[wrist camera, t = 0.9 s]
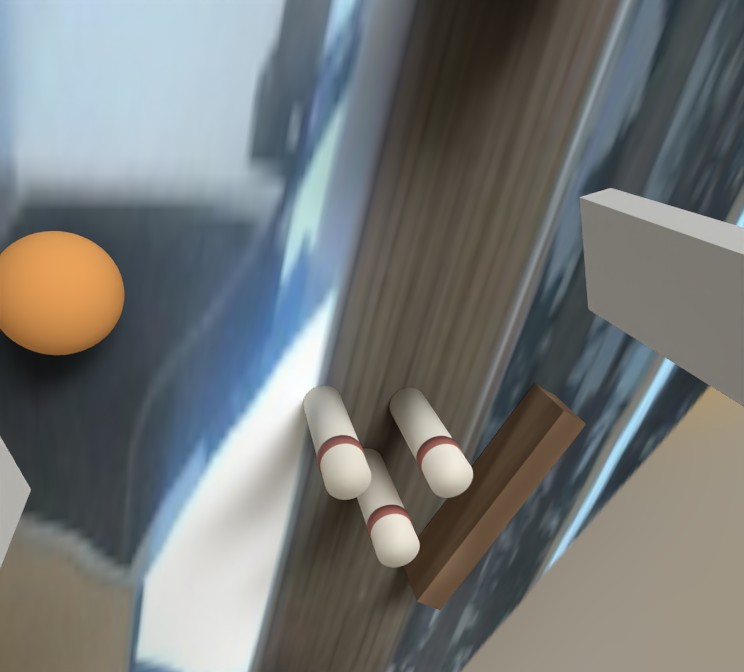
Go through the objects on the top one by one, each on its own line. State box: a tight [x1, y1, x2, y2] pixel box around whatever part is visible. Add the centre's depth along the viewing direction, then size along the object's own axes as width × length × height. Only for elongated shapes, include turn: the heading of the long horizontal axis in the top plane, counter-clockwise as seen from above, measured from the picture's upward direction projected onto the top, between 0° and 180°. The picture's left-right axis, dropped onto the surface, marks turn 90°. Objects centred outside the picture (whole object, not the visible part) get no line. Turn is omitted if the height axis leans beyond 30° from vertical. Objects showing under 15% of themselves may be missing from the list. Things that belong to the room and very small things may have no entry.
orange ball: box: [0, 231, 124, 355], centre depth 31 cm, size 6×6×6 cm
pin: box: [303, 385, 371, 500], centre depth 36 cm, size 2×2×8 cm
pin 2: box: [389, 388, 473, 498], centre depth 38 cm, size 2×2×8 cm
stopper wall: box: [403, 383, 586, 610], centre depth 43 cm, size 2×16×4 cm, turn 146°
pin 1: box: [357, 448, 420, 567], centre depth 38 cm, size 2×2×8 cm
